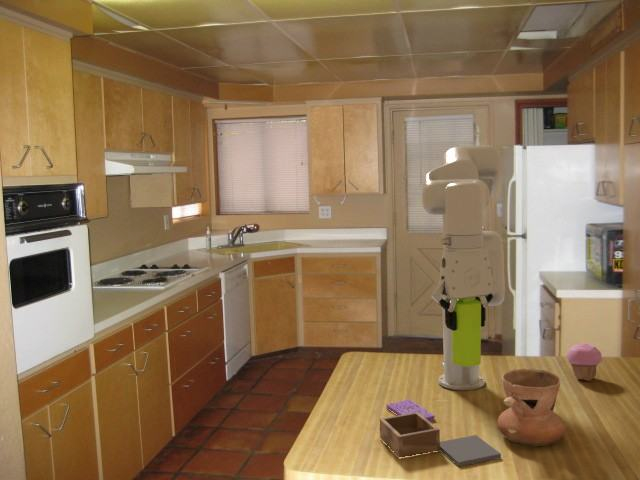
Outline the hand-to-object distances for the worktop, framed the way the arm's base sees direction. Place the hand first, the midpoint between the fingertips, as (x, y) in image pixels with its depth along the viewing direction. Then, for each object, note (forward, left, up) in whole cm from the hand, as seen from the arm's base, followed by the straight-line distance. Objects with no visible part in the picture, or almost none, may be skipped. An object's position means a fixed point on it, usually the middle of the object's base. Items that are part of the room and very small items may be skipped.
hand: (465, 326), depth 138 cm
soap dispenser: (0, 0, -8) cm, 8 cm away
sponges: (-24, -2, -29) cm, 37 cm away
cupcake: (-27, +52, -28) cm, 65 cm away
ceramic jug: (-1, +17, -28) cm, 33 cm away
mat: (0, 0, -28) cm, 28 cm away
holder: (-8, -10, -28) cm, 31 cm away
